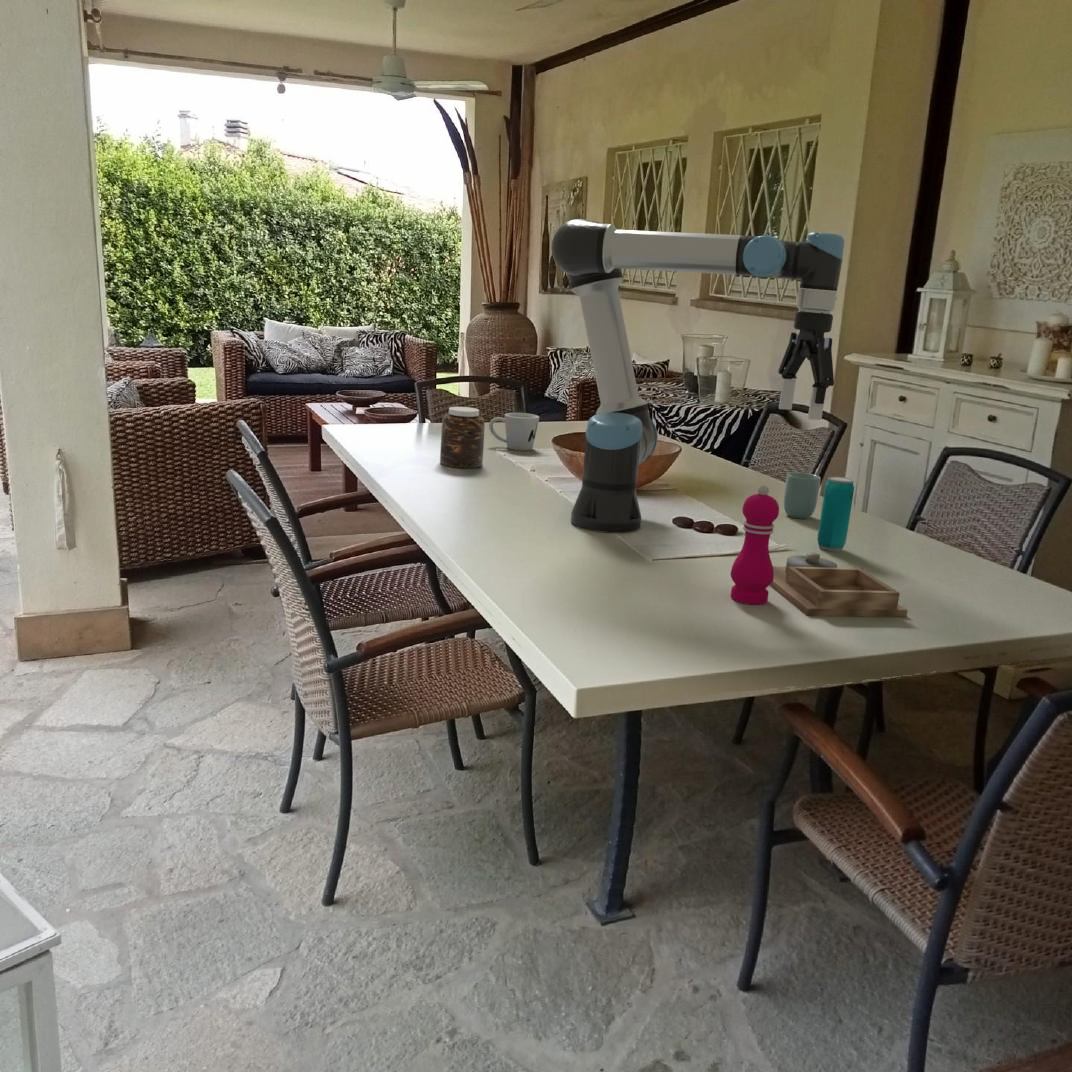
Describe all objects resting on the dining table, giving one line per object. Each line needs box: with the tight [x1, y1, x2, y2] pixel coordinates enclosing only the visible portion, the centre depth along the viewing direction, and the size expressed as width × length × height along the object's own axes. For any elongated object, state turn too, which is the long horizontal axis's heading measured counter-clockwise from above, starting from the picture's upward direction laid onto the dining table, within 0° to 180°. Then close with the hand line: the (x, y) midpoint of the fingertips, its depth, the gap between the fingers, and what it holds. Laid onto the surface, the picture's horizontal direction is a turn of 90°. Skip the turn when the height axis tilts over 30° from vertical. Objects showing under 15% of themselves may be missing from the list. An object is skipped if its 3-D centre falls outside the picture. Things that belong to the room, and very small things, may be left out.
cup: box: [783, 471, 822, 520], centre depth 235 cm, size 8×8×10 cm
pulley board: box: [769, 552, 908, 618], centre depth 177 cm, size 18×24×5 cm
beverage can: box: [816, 475, 855, 553], centre depth 207 cm, size 6×6×15 cm
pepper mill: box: [730, 484, 780, 606], centre depth 169 cm, size 7×7×20 cm
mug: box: [488, 412, 540, 451], centre depth 298 cm, size 10×15×10 cm
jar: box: [439, 406, 485, 469], centre depth 267 cm, size 12×12×15 cm
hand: (799, 414), depth 210 cm, fingers open, 13 cm apart
